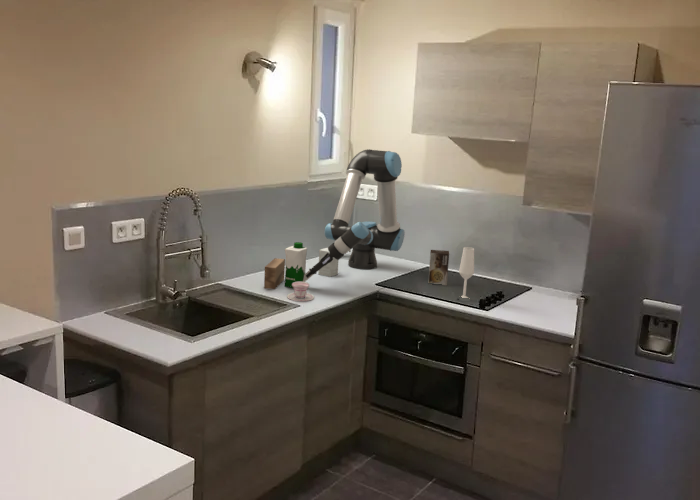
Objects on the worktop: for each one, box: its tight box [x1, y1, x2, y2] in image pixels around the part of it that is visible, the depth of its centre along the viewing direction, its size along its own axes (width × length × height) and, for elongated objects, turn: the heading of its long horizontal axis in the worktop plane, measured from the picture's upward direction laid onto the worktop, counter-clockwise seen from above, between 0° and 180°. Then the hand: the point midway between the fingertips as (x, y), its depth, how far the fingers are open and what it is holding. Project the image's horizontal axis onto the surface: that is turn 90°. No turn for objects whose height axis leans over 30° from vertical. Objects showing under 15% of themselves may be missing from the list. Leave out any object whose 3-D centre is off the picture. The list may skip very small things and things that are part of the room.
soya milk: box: [283, 241, 308, 289], centre depth 322 cm, size 9×9×20 cm
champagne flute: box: [458, 246, 475, 298], centre depth 316 cm, size 7×7×24 cm
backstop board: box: [263, 257, 286, 290], centre depth 325 cm, size 5×17×10 cm, turn 171°
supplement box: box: [317, 247, 339, 277], centre depth 347 cm, size 7×7×13 cm
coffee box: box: [427, 249, 450, 286], centre depth 341 cm, size 9×6×16 cm
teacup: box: [286, 281, 315, 302], centre depth 308 cm, size 12×12×6 cm
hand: (302, 280), depth 324 cm, fingers closed
